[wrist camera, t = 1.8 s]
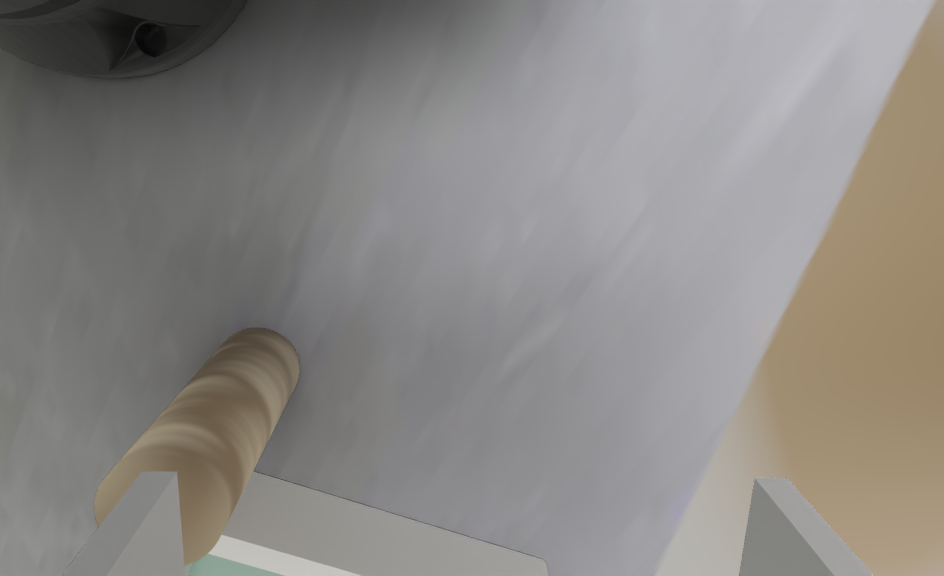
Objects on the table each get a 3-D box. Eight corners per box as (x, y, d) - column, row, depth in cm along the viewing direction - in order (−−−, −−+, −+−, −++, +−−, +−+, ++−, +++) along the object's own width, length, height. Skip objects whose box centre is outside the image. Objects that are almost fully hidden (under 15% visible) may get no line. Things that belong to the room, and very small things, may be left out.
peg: (207, 390, 38) (80, 548, 25) (229, 316, 37) (111, 438, 24) (286, 415, 39) (205, 583, 25) (310, 343, 38) (240, 477, 24)
